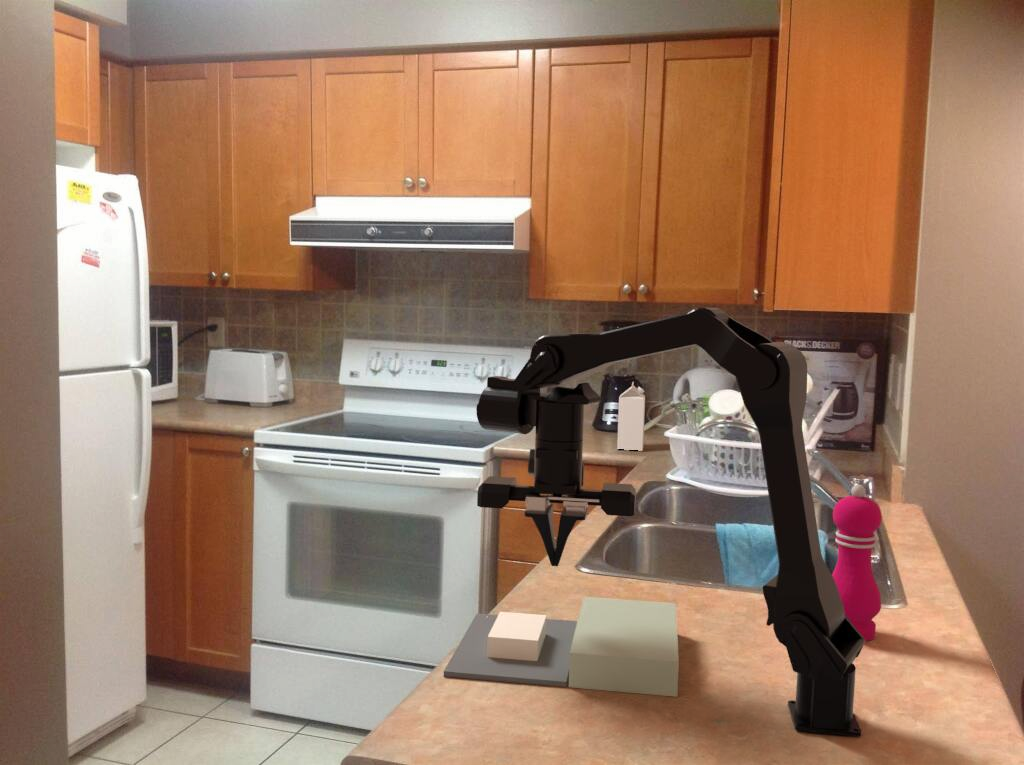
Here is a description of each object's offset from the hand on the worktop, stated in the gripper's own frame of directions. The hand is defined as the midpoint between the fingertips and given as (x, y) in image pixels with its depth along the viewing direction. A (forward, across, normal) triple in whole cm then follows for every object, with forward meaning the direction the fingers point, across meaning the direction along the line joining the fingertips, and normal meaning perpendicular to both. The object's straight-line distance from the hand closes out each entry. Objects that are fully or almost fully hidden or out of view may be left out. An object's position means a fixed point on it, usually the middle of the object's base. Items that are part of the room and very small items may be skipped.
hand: (555, 565), depth 116 cm
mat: (+11, +4, 0) cm, 12 cm away
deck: (+11, -9, 0) cm, 14 cm away
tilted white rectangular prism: (+9, +4, 0) cm, 10 cm away
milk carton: (+11, -5, -157) cm, 157 cm away
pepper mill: (+11, -38, -15) cm, 42 cm away
